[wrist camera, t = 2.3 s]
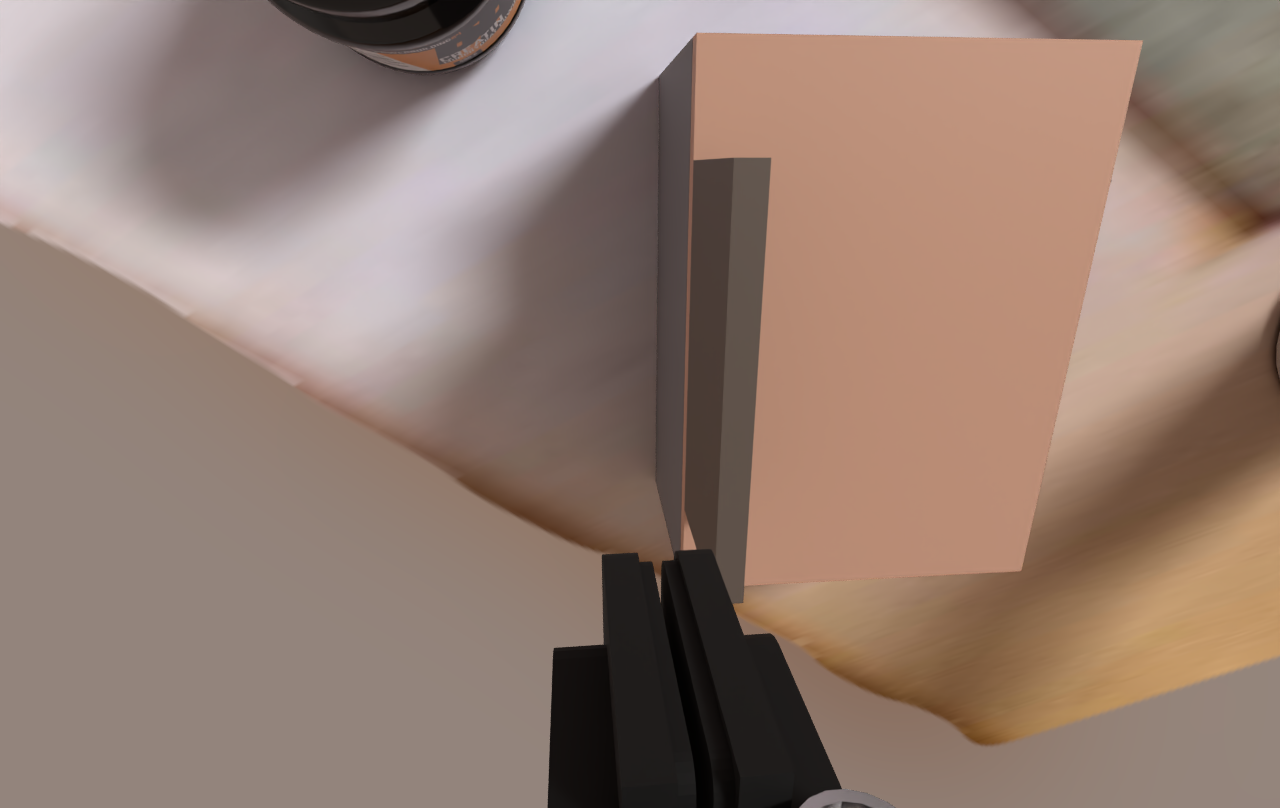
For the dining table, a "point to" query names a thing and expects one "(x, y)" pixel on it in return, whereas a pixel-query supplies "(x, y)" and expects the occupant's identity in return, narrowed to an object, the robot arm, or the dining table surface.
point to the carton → (672, 282)
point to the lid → (885, 294)
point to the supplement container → (410, 29)
